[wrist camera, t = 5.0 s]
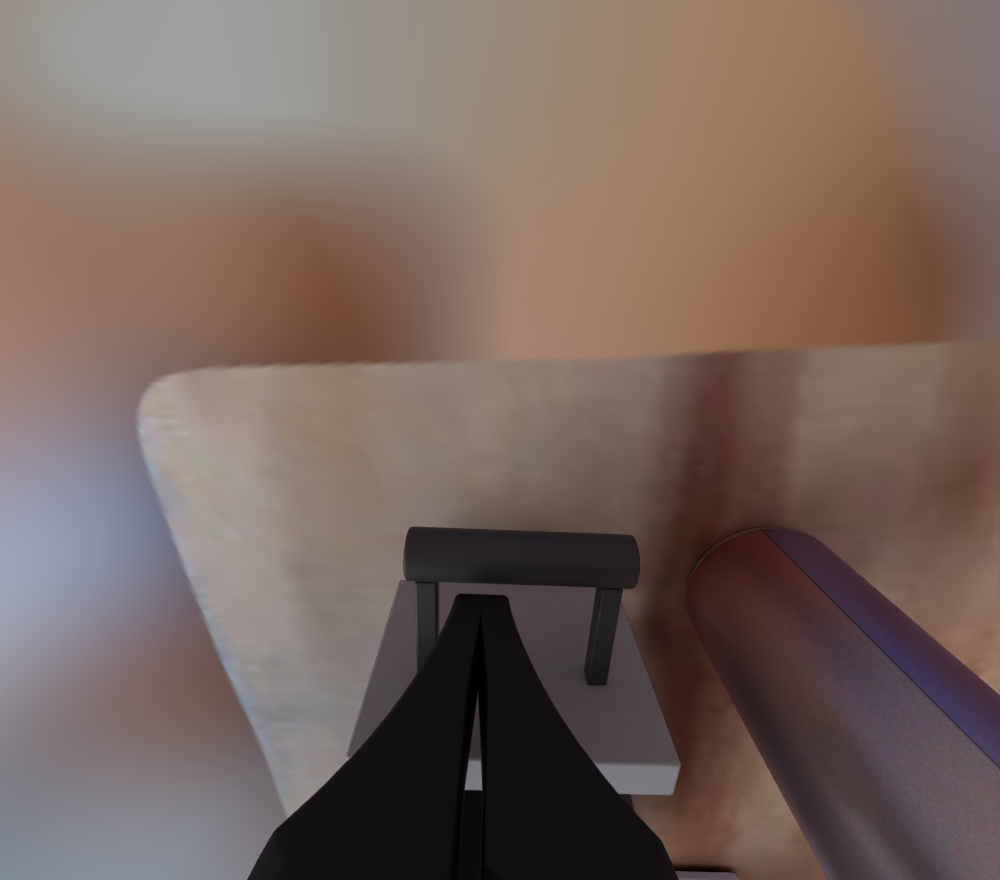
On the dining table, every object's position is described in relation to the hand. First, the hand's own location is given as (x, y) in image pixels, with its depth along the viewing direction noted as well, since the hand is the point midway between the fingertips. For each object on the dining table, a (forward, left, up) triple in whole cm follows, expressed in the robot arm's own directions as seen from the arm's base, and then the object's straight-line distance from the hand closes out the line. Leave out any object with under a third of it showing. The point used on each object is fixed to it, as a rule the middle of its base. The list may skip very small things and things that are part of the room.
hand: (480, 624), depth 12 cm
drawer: (-5, -1, -5) cm, 7 cm away
